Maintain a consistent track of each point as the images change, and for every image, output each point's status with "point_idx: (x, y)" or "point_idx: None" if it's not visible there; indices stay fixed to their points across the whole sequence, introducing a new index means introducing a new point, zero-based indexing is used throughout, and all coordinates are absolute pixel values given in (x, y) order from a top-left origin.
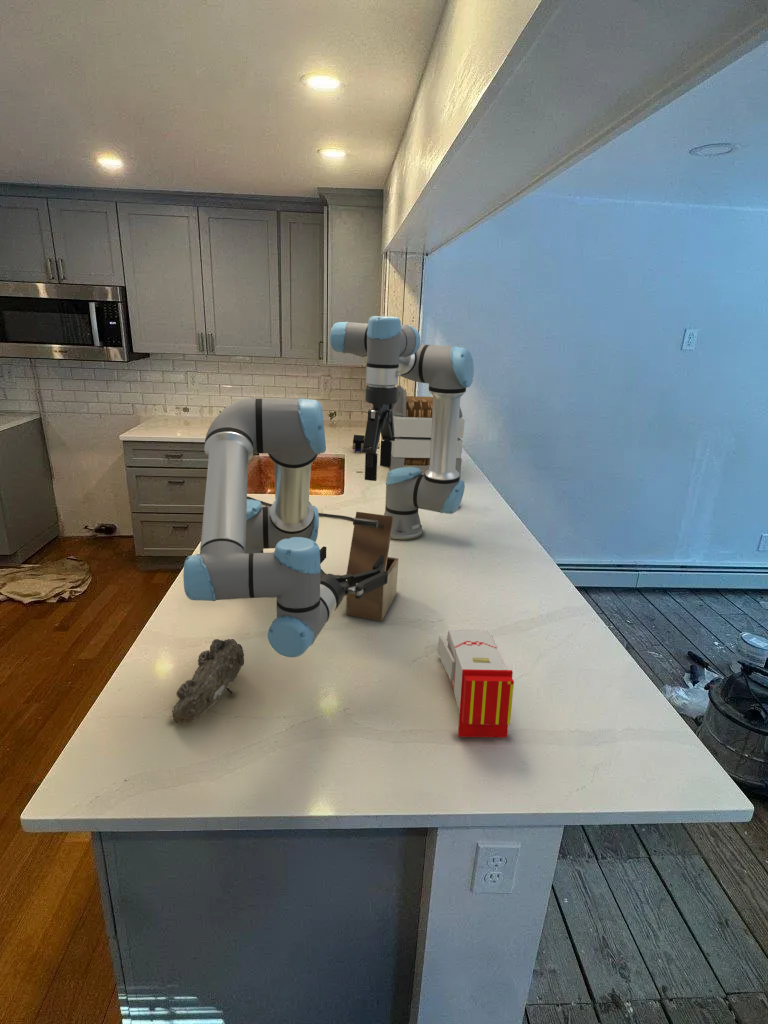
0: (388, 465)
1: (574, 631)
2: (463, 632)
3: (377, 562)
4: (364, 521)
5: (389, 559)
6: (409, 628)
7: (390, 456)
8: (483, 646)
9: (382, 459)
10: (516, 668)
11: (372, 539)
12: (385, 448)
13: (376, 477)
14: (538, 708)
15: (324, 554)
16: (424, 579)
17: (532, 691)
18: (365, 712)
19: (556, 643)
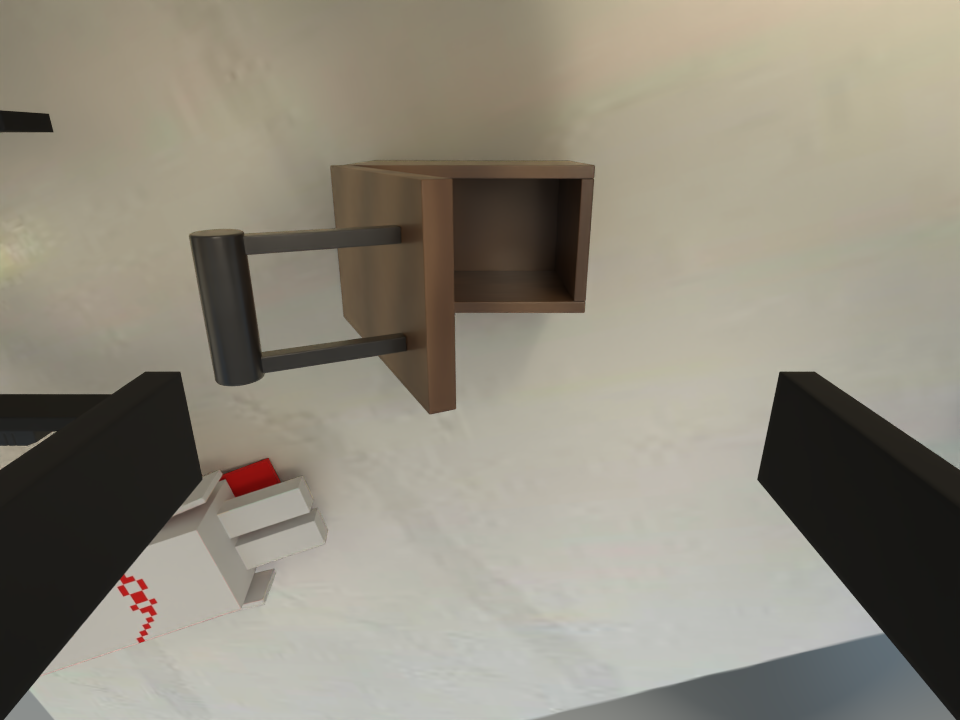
0: (768, 472)
1: (504, 680)
2: (194, 564)
3: (5, 424)
4: (202, 309)
5: (573, 279)
6: (375, 358)
7: (828, 562)
8: (132, 617)
9: (820, 437)
10: (312, 589)
11: (381, 284)
12: (924, 579)
13: (185, 497)
14: (203, 624)
15: (3, 131)
16: (687, 340)
17: (249, 615)
18: (5, 343)
19: (440, 651)
